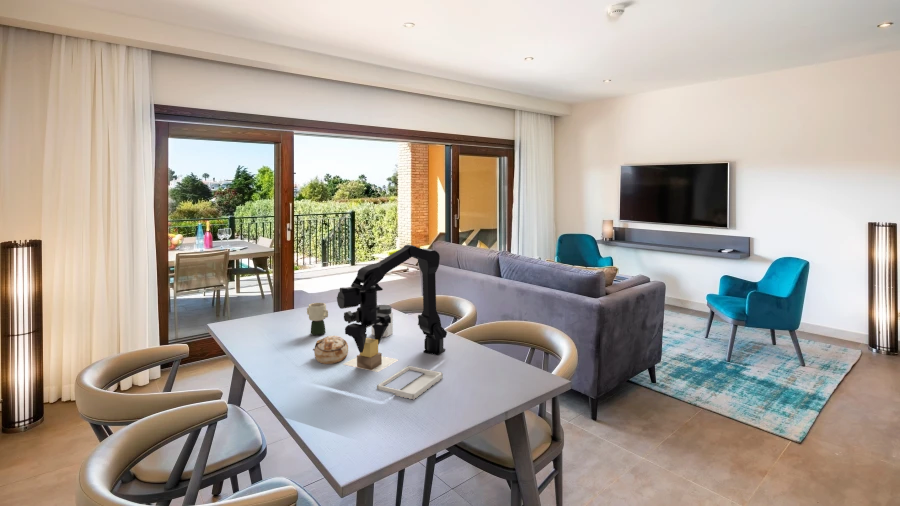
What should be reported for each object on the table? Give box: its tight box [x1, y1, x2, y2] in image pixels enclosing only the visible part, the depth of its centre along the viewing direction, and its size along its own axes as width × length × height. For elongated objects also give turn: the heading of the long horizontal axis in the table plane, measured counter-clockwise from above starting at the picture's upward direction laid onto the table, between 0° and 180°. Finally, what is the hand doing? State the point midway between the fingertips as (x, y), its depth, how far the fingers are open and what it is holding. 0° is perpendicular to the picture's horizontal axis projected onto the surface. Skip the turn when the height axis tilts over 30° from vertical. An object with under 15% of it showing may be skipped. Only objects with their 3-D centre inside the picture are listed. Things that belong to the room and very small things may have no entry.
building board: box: [342, 355, 399, 373], centre depth 163 cm, size 15×13×1 cm
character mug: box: [306, 302, 329, 336], centre depth 195 cm, size 11×7×13 cm, turn 66°
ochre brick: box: [359, 337, 379, 358], centre depth 159 cm, size 4×4×5 cm
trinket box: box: [312, 335, 349, 365], centre depth 168 cm, size 13×15×8 cm
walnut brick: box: [356, 352, 383, 371], centre depth 159 cm, size 6×6×4 cm
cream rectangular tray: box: [376, 365, 443, 401], centre depth 146 cm, size 13×18×2 cm
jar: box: [371, 304, 394, 338], centre depth 196 cm, size 9×8×12 cm
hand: (369, 348), depth 159 cm, fingers open, 9 cm apart
